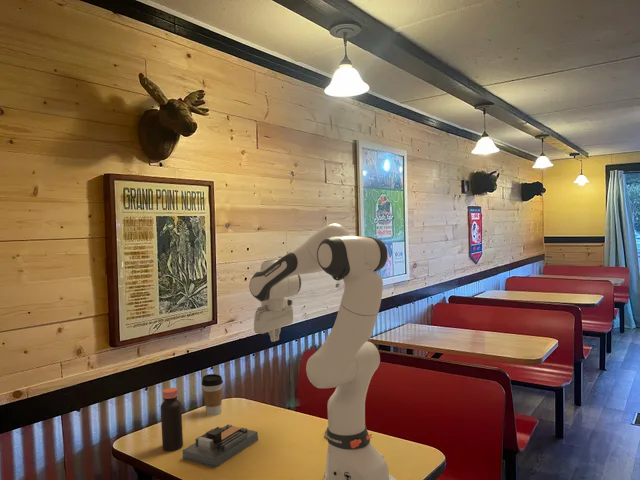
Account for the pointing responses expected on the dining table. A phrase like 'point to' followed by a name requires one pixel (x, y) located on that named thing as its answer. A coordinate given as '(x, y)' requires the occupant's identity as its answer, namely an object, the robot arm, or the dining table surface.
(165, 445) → the bottle
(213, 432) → the brown and black bar
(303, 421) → the dining table surface
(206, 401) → the coffee cup
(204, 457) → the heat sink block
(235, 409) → the dining table surface
